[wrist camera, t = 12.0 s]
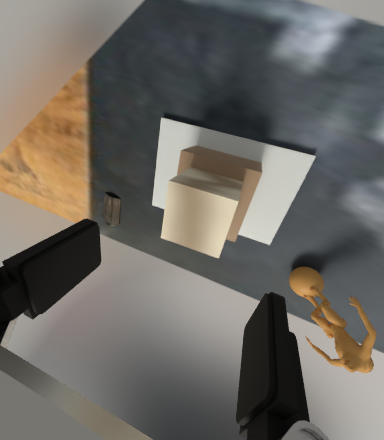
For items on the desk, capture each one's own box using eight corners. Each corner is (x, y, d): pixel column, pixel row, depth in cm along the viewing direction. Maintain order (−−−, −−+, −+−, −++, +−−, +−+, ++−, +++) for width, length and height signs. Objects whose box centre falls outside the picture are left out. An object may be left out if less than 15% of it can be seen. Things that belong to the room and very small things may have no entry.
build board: (313, 155, 20) (333, 165, 15) (269, 241, 26) (272, 271, 21) (164, 117, 23) (136, 115, 18) (154, 203, 29) (131, 220, 24)
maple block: (243, 181, 18) (238, 201, 13) (227, 228, 20) (218, 258, 16) (190, 166, 19) (168, 180, 14) (181, 213, 21) (160, 237, 17)
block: (125, 196, 32) (120, 199, 30) (122, 225, 35) (116, 229, 33) (106, 189, 32) (99, 192, 31) (104, 219, 35) (98, 223, 33)
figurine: (304, 244, 25) (337, 327, 15) (351, 262, 24) (420, 362, 14) (275, 285, 29) (285, 371, 19) (314, 301, 28) (346, 400, 18)
